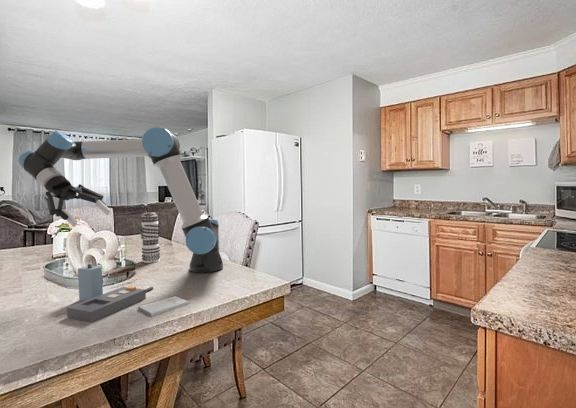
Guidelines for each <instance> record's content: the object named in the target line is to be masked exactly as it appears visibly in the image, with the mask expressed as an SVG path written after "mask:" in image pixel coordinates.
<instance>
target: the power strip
mask: <svg viewBox="0 0 576 408" xmlns="http://www.w3.org/2000/svg"><path fill="white" fill-rule="evenodd" d="M153 289H154V286H150V287H147V288H145V289H143V288H137V287H136V286H131V285H129V286H121V287H119V288H116V289H114V290H110V291H108V292H105V293H103V294H102V295H99V296H97V297H94V298H91V299H88V300H86V301H79V302H77V303H75V304H72V305H70V306H67V307H66V316H67V318H68V319H73V320H79V321H84V322H89V323H93V322H96V321H98V320H100V319H102V318H105V317H107V316H109V315H111V314H113V313H115V312H118V311H120V310H123V309H126V308H128V307H129V306H132V305H134V304H136V303H138V302H141V301H143V300H144V299H146V298H147V294H146V293H147V292H149V291H151V290H153Z"/></svg>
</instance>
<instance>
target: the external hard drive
mask: <svg viewBox="0 0 576 408" xmlns="http://www.w3.org/2000/svg"><path fill="white" fill-rule="evenodd" d="M188 303H189V301H188V300H186V299H183V298H180V297H179V296H175V295H174V296H172V297H168V298H164V299H161V300H157V301H154V302H150V303H147V304H144V305H140V306H138V309H137V310H139V311H140V312H142V313H144V314H146V315H148V316H149V317H153V316H157V315H159V314H162V313H166V312H168V311H171V310H175V309H176V308H180V307H183V306H185V305H188Z"/></svg>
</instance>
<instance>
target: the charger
mask: <svg viewBox="0 0 576 408" xmlns="http://www.w3.org/2000/svg"><path fill="white" fill-rule="evenodd" d="M102 268H103V267H101V266H95V265H92V263H87V265H86V266H83V267H78V268H77V278H78V295H79V296H78V299H79V302H83V301H86V300H88V299H91V298H94V297H97V296H99V295H102V294H104V293H103V292H104V291H103V290H104V289H103V271H102V270H103V269H102Z"/></svg>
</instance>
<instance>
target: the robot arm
mask: <svg viewBox="0 0 576 408" xmlns="http://www.w3.org/2000/svg"><path fill="white" fill-rule="evenodd" d="M180 147H181V144H180V141H179V139H178V138H177V136H176V135H175V134H173V133H172V132H171V131H170V130H169V129H167V128H165V127H161V126H154V127H153V126H152V127H151V128H149V129H147V130H145V132H144V134H143V135H142V138H139V139H138V138H137V139H135V138H133V139H112V140H110V139H108V140H85V141H81V140H79V141H78V140H77V141H74V140H73V139H72V138H70V137H69V136H68V135H66V134H65V133H64V132H61V131H59V130H54V131H53V132H52V133H50V135H48V136H47V137H46V139H45V140H44V141H43V142H42V143H41V145H39V146H38V148H37V149H36V150H27V151H25V152H24V153H22V154H20V156H19V157H18V163H19V165H20V167H22V168H23V170H24V171H25V172H26V173H27V174H29V175H30V176H31V177H32V178H33V179H34V180H36V182H37V183H39V184H40V185H41V186H42V187H43V188H44V189H45V190H46V191H45V193H44V199H45V200H46V202H47V206H48V212H49V215H50V216H53V217H54V215H55V216H56V217H58V218H59V217H60V218H61V219H62V220H64V221H67V222H68V223H69V224H70V225H71V226H72V227H76V226H77V223H78V219H76V218H75V217H74V216H73V215H72V214H71V213H70V212H69V211H68V210H67V209H66V208H63V206H64V201H70V200H74V199H76V200H79V199H80V200H83V201H87V202H90V203H93V204H94V203H95V206H96V207H97V208H99V210H100V211H102V212H103V214H105V215H106V216H109V214H110V212H111V209H110V208H109V207H108V206H107V204H106V203H105V202H104V201H103V199H104V195H103V194H101V193H99V192H98V193H97V192H96V191H93V190H92V189H89V188H88V187H85V186H84V185H82V184H81V183H80V184H78V186H74V185H72V184H71V182H70V181H69V180H68V179H67V177H65V176H64V175H63V174H62V173H61V172H60V171H59V170H57V168H55V167H54V165H56V164H57V162H59V161H60V160H61V158H62V159H66V160H70V161H71V160H72V161H81V160H90V159H91V160H92V159H115V158H137V157H138V158H140V157H147V158H149V159H151V162H152V164H153V166H154V167H156V168H158V169H159V170H160V173H161V175H162V177H163V179H164V182H165V184H166V187H167V190H169V192H170V195H171V198H172V200H173V202H174V204H175V207H176V209H177V211H178V213H179V216H180V218H181V220H182V225H181V230H182V232H183V234H184V237H185V239H184V240H185V245H186V247H187V249H188V250H189V251H190V252H191V253H192V255H191V259H190V261H189V265H188V266H189V271H190V272H192V273H197V272H198V273H203V274H205V272H207V273H214V272H217V270H218V271H221V270H223V269H224V262H223V259H222V256H221V254H220V248H219V247H220V246H219V244H220V243H219V239H220V237H219V236H220V235H219V227H220V225H219V221H218V219H213V218H212V219H210V218H209V216H207V215H205V214H203V210H202V209H201V206H200V204H199V201H198V199H197V197H196V194H195V192H194V190H193V187H192V185H191V182H190V181H189V178H188V176H187V174H186V171H185V169H184V167H183V164H182V162H181V159H182V157H183V155H182V152H181V150H180ZM54 198H56V199H58V203H57V208H56V205H55V199H54ZM220 269H221V270H220ZM213 271H214V272H213Z"/></svg>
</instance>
